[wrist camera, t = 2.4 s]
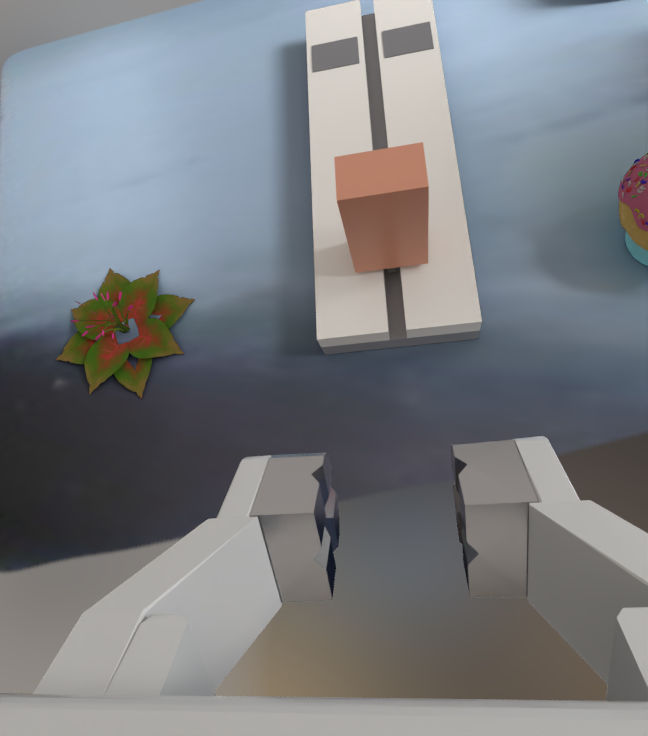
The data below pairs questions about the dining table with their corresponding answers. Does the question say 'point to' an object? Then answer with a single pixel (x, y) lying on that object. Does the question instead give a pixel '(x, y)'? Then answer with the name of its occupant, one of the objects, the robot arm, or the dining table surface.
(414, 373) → the dining table surface
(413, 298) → the white slider track base
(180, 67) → the dining table surface
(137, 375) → the lily flower
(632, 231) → the cupcake
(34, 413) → the dining table surface
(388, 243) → the fader
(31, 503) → the dining table surface
